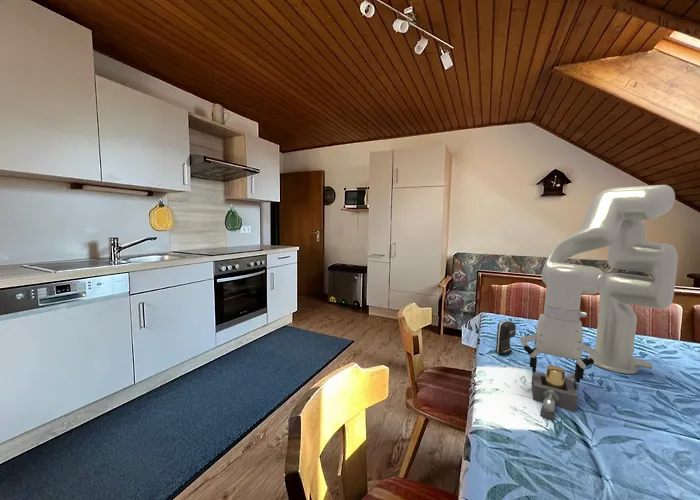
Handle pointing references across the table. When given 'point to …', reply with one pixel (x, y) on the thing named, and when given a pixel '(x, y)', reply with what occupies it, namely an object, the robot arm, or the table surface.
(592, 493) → the table surface
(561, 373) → the yellow cylinder
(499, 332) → the battery charger
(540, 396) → the grey square frame
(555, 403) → the shaft
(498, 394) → the table surface
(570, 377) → the shaft
